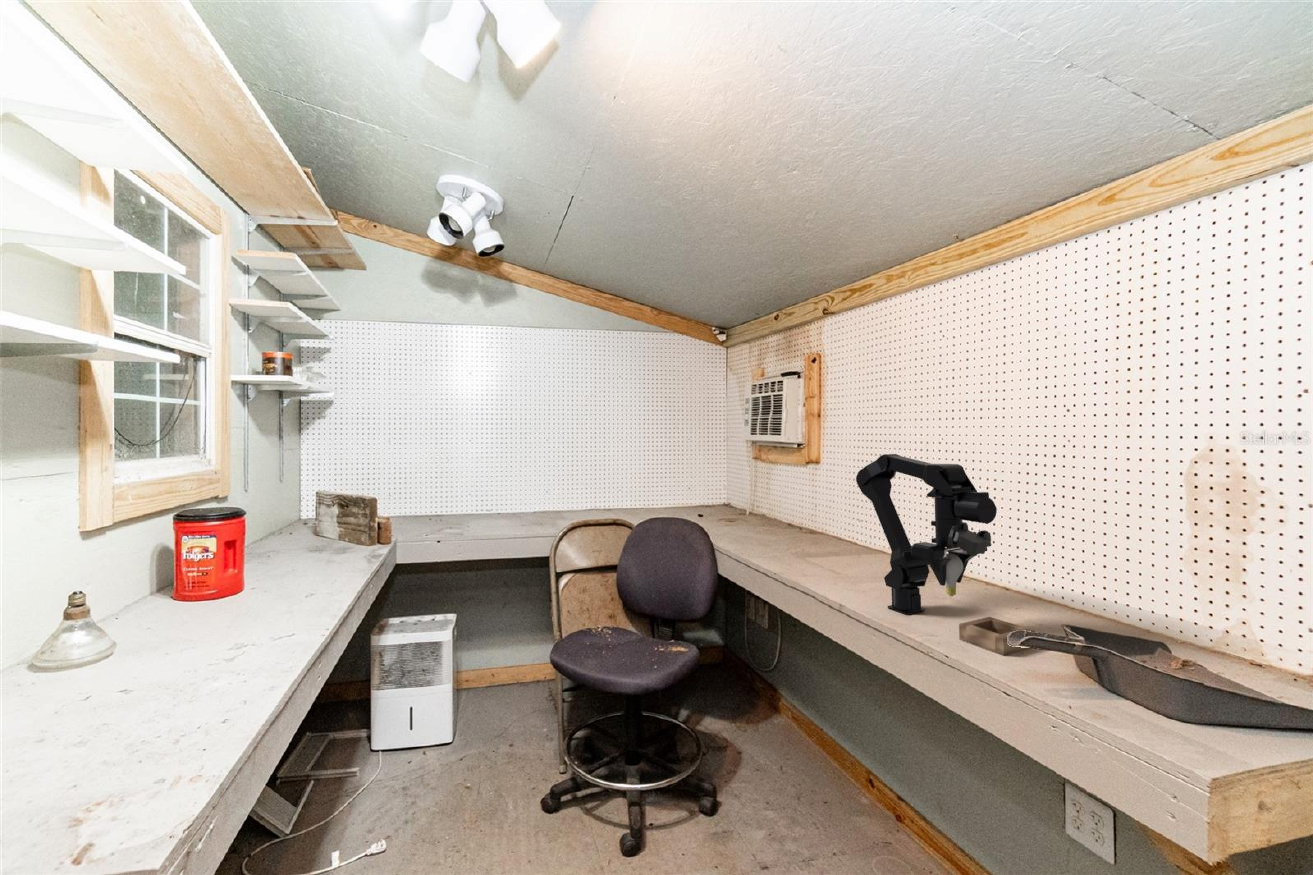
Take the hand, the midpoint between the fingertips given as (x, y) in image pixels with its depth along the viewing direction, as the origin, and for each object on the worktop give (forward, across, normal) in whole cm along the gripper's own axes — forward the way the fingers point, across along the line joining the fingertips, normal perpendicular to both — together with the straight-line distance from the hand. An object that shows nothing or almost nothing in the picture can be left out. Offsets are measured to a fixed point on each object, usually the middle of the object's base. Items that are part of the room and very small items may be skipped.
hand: (950, 583), depth 129 cm
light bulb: (+3, 0, 0) cm, 3 cm away
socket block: (+10, 0, -11) cm, 15 cm away
